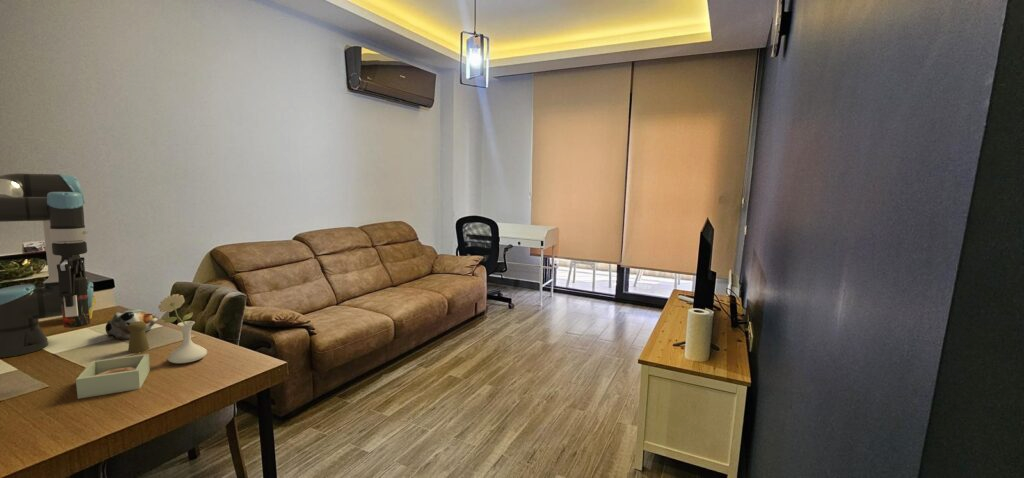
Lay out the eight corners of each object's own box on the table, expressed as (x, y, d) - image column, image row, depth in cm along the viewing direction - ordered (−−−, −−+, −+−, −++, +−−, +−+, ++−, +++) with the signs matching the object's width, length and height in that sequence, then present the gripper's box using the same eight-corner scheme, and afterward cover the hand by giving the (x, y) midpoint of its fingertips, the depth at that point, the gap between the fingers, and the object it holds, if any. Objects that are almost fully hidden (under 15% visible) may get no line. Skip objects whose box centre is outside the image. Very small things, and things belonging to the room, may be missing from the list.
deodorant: (94, 323, 135) (90, 278, 134) (70, 329, 130) (65, 282, 128) (83, 320, 137) (79, 276, 136) (59, 326, 132) (54, 279, 130)
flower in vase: (204, 350, 160) (201, 287, 156) (210, 360, 152) (206, 294, 148) (160, 359, 151) (155, 292, 147) (163, 370, 143) (159, 300, 139)
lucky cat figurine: (152, 326, 181) (162, 301, 178) (150, 345, 173) (160, 319, 169) (106, 322, 171) (115, 296, 168) (100, 343, 163) (110, 315, 159)
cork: (153, 347, 160) (151, 320, 159) (138, 354, 154) (136, 325, 153) (139, 346, 161) (137, 319, 159) (123, 352, 155) (121, 324, 153)
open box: (93, 378, 135) (92, 361, 134) (149, 370, 142) (148, 353, 142) (77, 398, 123) (75, 379, 123) (139, 388, 130) (138, 370, 130)
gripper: (73, 245, 124) (80, 320, 127) (96, 237, 140) (102, 304, 143) (37, 246, 120) (45, 323, 123) (64, 238, 136) (71, 306, 139)
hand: (76, 313), depth 133 cm, fingers closed on deodorant, 6 cm apart
